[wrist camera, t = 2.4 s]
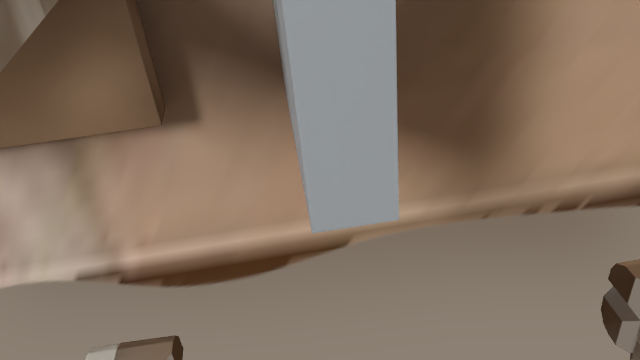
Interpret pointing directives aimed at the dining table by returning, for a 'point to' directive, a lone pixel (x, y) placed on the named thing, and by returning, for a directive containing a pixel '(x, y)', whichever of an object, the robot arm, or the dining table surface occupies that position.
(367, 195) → the slotted plate
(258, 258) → the dining table surface
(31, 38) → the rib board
